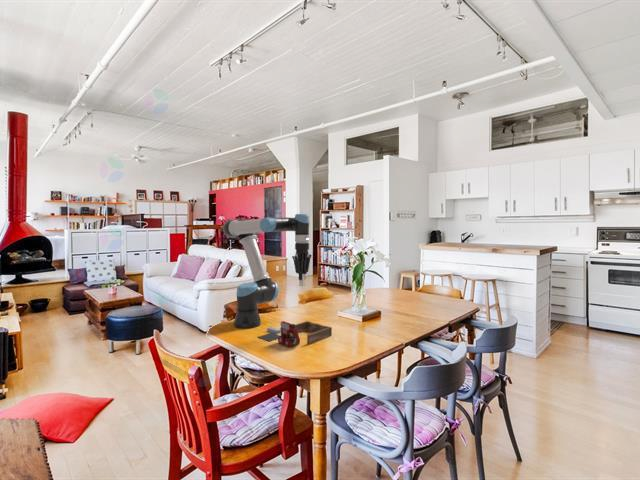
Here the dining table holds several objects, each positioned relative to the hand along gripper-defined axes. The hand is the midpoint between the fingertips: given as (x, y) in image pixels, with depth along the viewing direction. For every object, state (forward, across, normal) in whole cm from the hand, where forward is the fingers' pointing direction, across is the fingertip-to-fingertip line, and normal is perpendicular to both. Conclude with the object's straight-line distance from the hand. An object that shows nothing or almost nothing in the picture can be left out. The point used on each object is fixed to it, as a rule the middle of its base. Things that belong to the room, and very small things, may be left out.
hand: (302, 285), depth 196 cm
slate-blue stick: (+25, -13, +9) cm, 29 cm away
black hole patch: (+24, -20, +4) cm, 32 cm away
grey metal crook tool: (+25, -5, +4) cm, 25 cm away
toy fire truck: (+25, -20, -11) cm, 34 cm away
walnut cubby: (+24, -6, -10) cm, 27 cm away
